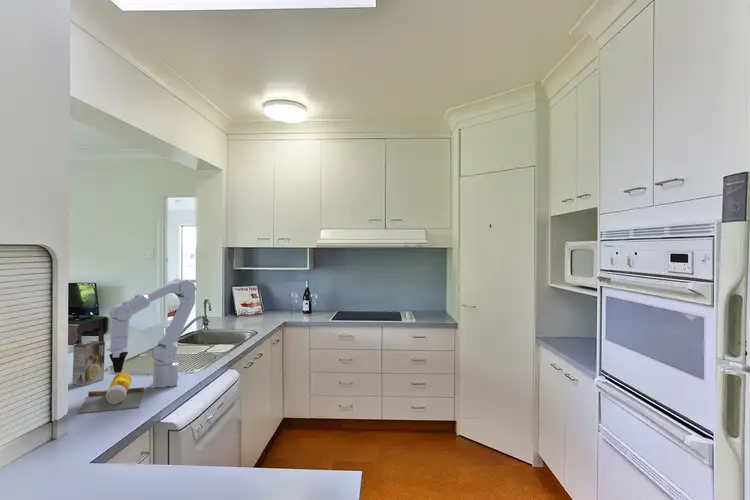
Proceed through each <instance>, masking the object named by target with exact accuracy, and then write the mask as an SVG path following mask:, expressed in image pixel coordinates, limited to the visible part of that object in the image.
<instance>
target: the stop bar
mask: <svg viewBox="0 0 750 500" xmlns="http://www.w3.org/2000/svg"><path fill="white" fill-rule="evenodd" d="M107 391H108V389H103V390H93V391H92V390H90V391H88V393H87V394H88V395H87V397H88V396H99V395H106V393H107ZM135 392H144V393H145V387H144V386H143V387H142V386H140V387H132V388H131V387H129V388H128V391H127V393H135Z"/></svg>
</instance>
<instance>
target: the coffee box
mask: <svg viewBox="0 0 750 500" xmlns="http://www.w3.org/2000/svg"><path fill="white" fill-rule="evenodd" d="M105 343H106V341H100V340H90V341H87V342H82V343H77V344H74V345H73V354H72V355H73V359H72V360H73V361H72V379H71V381H72V382H71V384H72V385H73V384H75V386H82V387H84V386H85V387H86V386H89V385H91V384H94V383H97V382H100V381H103V380H104V376H105V375H104V374H105V354H106V353H105V349H106V344H105Z"/></svg>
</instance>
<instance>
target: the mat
mask: <svg viewBox="0 0 750 500" xmlns="http://www.w3.org/2000/svg"><path fill="white" fill-rule="evenodd" d="M144 393H145V391H144V392H135V393H127V394H126V396H125V398H124V400H123V401H121V402H120V403H117V404H111V403H109V402H108V401H107V399H106V395H99V396H88V395H87V397H86V399H85V401H84V402H83V403H82V404H81V406H80V407H79V409H78V411H77V412H76V415H79V414H80V415H81V414H90V413H99V412H111V411H119V410H121V411H122V410H131V409H132V410H133V409H139V408H140V404H141V402H142V399H143V396H144Z"/></svg>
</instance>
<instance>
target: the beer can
mask: <svg viewBox="0 0 750 500" xmlns="http://www.w3.org/2000/svg"><path fill="white" fill-rule="evenodd" d="M131 383H132V375H130V374H129V373H128V372H121V373H116V374H115V376H114V377H113V378H112V381H111V383H110V386H109V387H108V389H107V390H108V391H107V393H106V399H107V401H108V402H109V403H111V404H117V403H120V402H121V401H123V400H124V398H125V396H126V394H127V391H128V388H130V385H131Z"/></svg>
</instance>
